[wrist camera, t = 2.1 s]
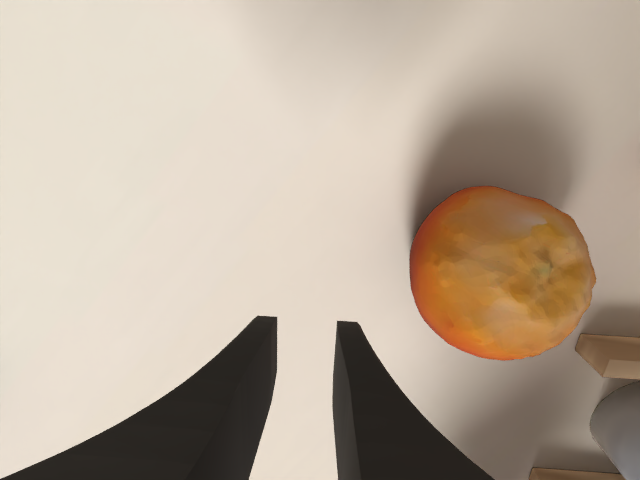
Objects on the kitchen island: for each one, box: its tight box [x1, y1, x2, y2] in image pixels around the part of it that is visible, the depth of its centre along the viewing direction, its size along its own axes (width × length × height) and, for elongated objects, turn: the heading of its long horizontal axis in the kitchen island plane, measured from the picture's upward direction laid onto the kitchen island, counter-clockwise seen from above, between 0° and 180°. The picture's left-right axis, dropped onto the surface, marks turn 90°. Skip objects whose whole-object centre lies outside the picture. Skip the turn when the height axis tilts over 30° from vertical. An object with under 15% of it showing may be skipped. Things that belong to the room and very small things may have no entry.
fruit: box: [410, 186, 596, 360], centre depth 17 cm, size 8×8×8 cm
